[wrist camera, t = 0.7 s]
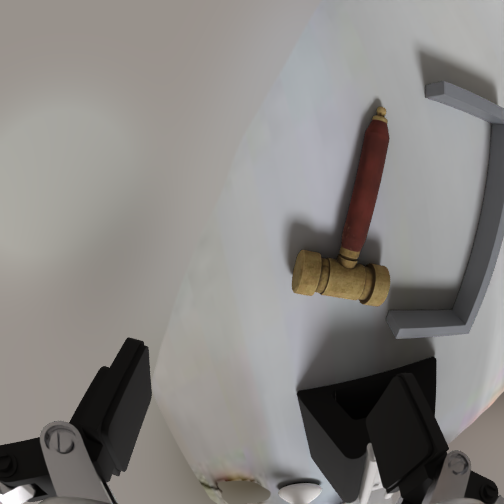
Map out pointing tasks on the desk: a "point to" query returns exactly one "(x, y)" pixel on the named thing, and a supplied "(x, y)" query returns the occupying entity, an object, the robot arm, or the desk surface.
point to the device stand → (353, 427)
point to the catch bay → (487, 237)
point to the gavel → (352, 234)
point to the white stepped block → (379, 497)
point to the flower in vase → (300, 493)
